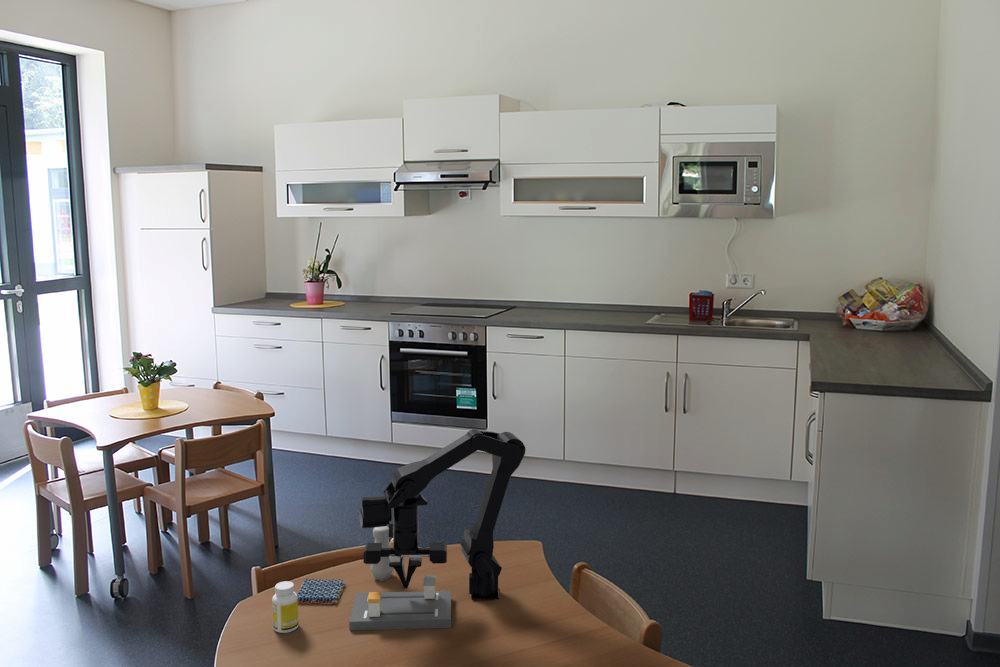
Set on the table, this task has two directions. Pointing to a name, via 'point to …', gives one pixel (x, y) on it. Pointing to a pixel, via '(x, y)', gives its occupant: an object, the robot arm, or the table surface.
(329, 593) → the woven mat
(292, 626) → the supplement bottle
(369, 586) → the table surface
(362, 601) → the console
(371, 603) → the orange fader
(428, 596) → the grey fader
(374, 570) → the salt shaker
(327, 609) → the table surface
